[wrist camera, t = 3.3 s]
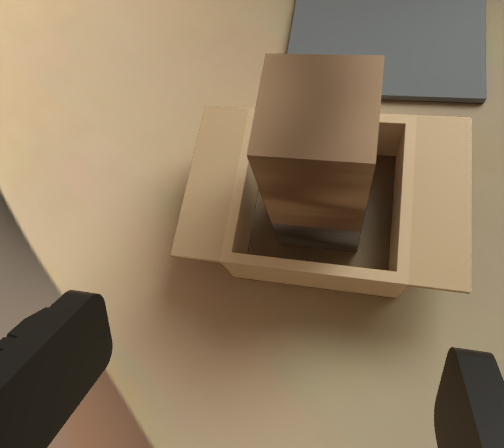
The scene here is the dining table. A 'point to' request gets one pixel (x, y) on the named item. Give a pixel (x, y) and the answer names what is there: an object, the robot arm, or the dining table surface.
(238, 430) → the dining table surface
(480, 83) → the rubber mat
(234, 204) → the light wood hollow frame
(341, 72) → the walnut box
